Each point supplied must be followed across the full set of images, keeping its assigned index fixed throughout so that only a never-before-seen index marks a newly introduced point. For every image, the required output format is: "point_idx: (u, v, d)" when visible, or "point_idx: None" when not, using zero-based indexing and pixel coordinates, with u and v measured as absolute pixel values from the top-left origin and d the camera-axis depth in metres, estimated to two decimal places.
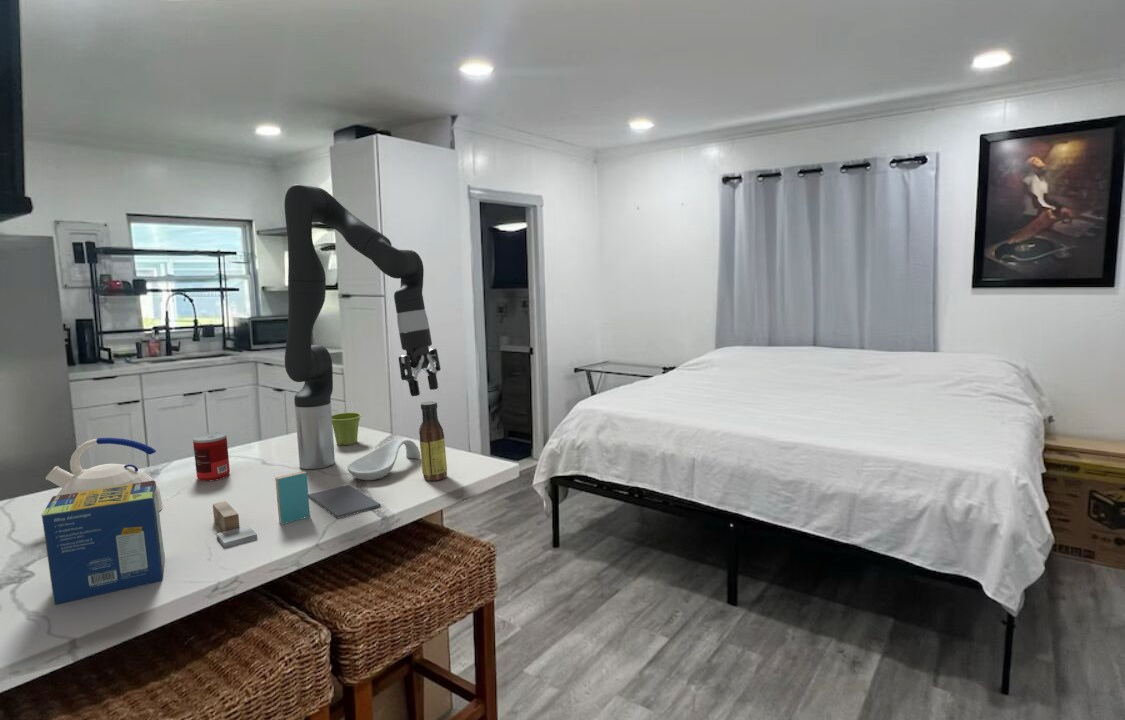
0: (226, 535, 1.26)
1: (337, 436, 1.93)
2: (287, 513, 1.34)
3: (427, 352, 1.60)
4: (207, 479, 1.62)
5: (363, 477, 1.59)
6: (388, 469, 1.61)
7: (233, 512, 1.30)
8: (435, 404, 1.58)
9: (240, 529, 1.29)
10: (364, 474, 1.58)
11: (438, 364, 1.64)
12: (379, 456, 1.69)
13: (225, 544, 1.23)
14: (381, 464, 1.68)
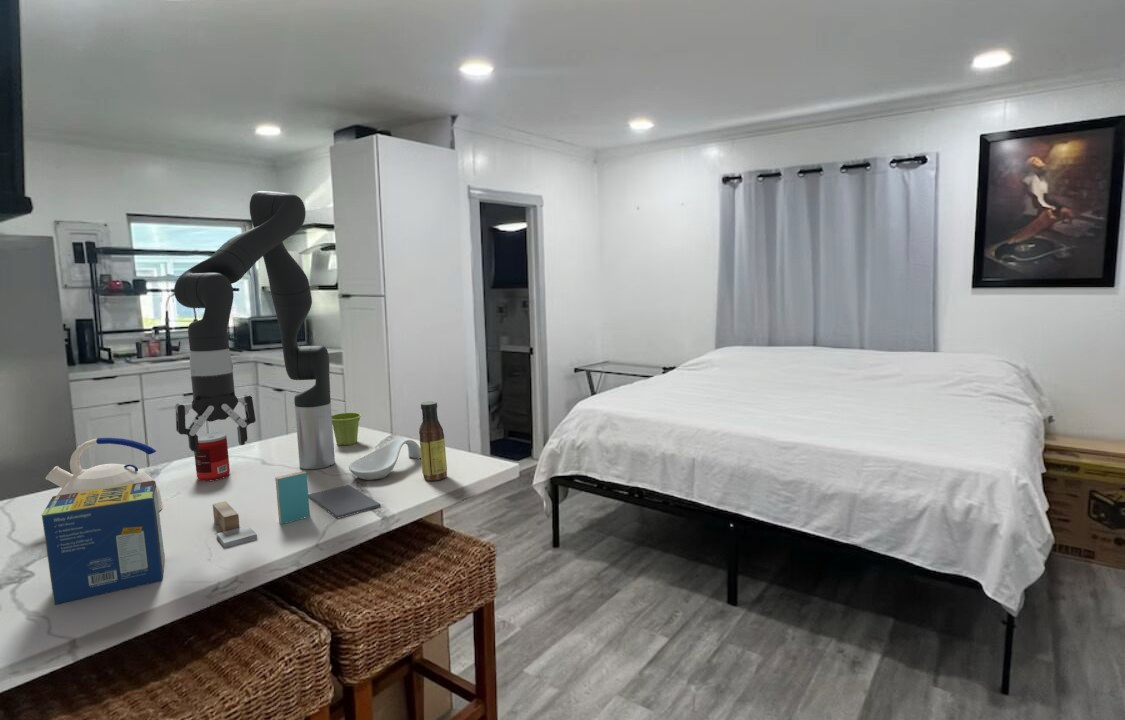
0: (226, 535, 1.26)
1: (337, 436, 1.93)
2: (287, 513, 1.34)
3: (229, 400, 1.30)
4: (207, 479, 1.62)
5: (364, 476, 1.59)
6: (389, 469, 1.61)
7: (233, 512, 1.30)
8: (435, 404, 1.58)
9: (240, 529, 1.29)
10: (365, 474, 1.58)
11: (251, 415, 1.33)
12: (381, 456, 1.70)
13: (225, 544, 1.23)
14: (383, 463, 1.68)
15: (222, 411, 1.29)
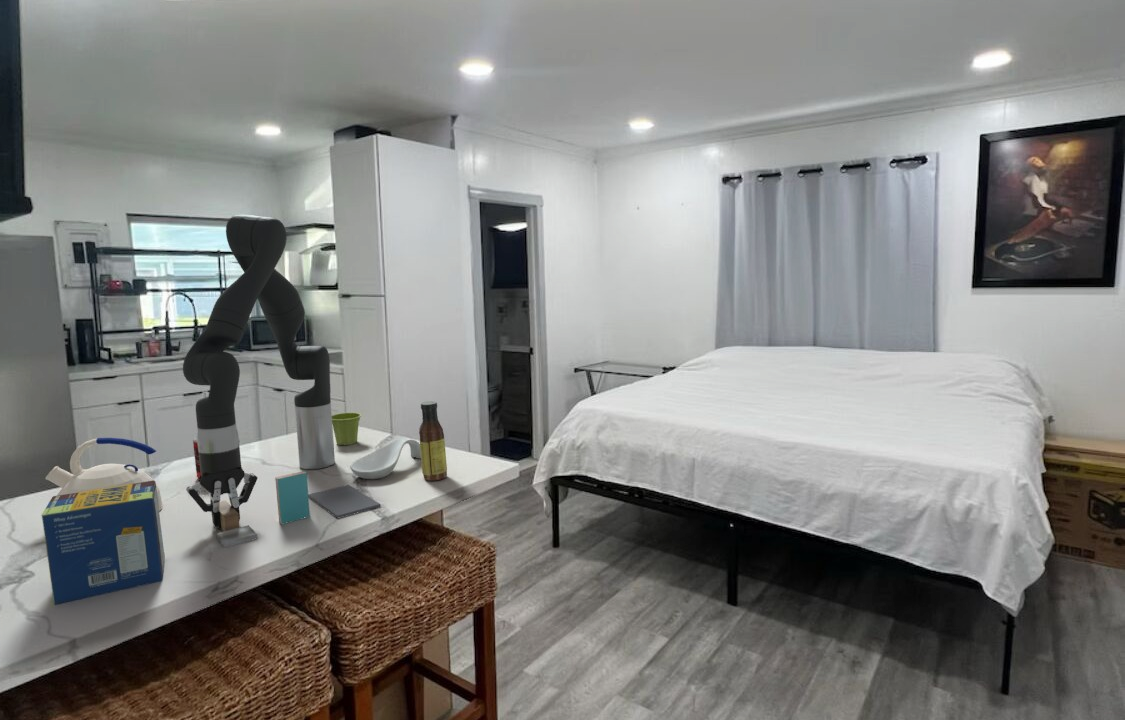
0: (226, 535, 1.26)
1: (337, 436, 1.93)
2: (287, 513, 1.34)
3: (237, 473, 1.32)
4: None
5: (365, 476, 1.60)
6: (390, 468, 1.62)
7: (233, 512, 1.30)
8: (435, 404, 1.58)
9: (240, 529, 1.29)
10: (366, 473, 1.59)
11: (247, 495, 1.34)
12: (382, 455, 1.70)
13: (225, 544, 1.23)
14: (384, 463, 1.69)
15: (226, 484, 1.31)
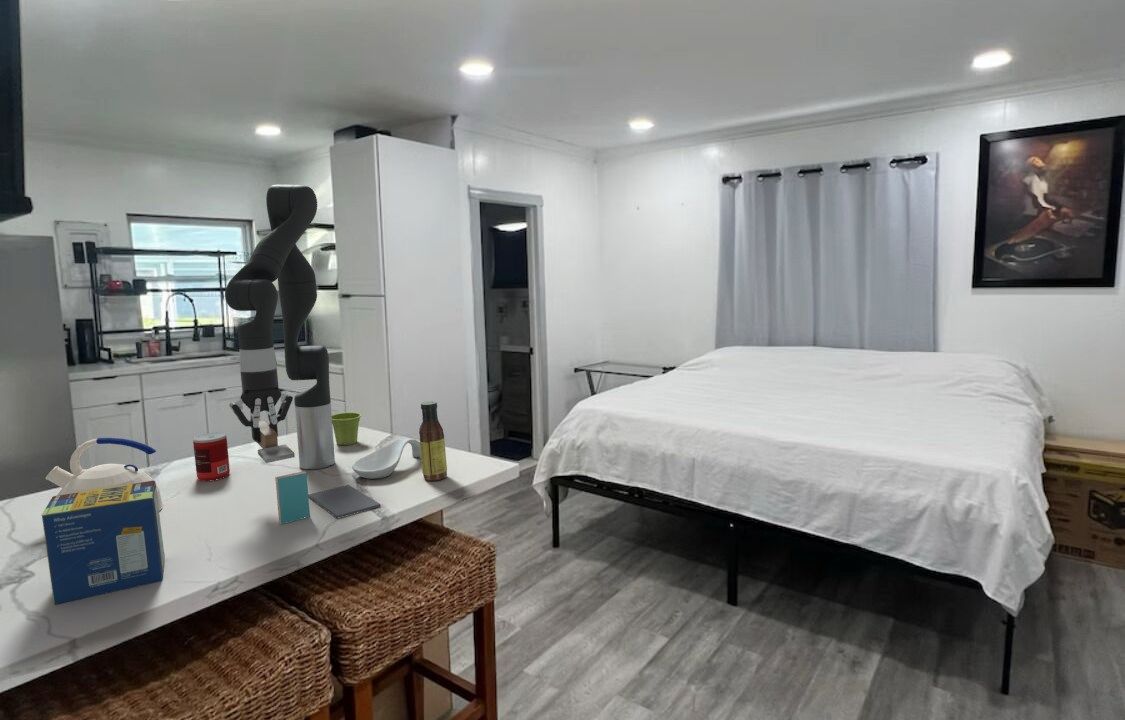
0: (267, 452, 1.39)
1: (337, 436, 1.93)
2: (287, 513, 1.34)
3: (274, 392, 1.45)
4: (207, 479, 1.62)
5: (367, 475, 1.60)
6: (391, 468, 1.62)
7: (272, 432, 1.43)
8: (435, 404, 1.58)
9: (278, 447, 1.42)
10: (367, 473, 1.59)
11: (284, 413, 1.47)
12: (384, 455, 1.70)
13: (267, 460, 1.36)
14: (386, 463, 1.69)
15: (265, 402, 1.44)
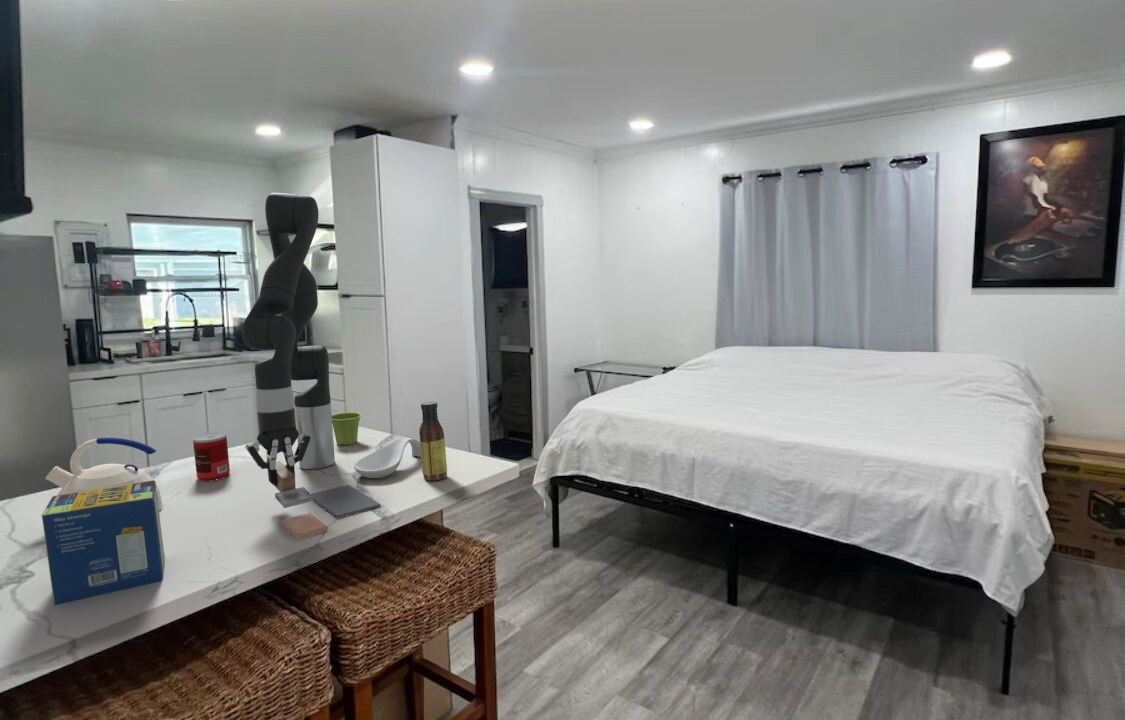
0: (284, 495, 1.34)
1: (337, 436, 1.93)
2: None
3: (292, 432, 1.40)
4: (207, 479, 1.62)
5: (369, 475, 1.60)
6: (394, 467, 1.62)
7: (290, 474, 1.38)
8: (435, 404, 1.58)
9: (296, 490, 1.37)
10: (370, 472, 1.59)
11: (301, 454, 1.41)
12: (385, 454, 1.71)
13: (285, 505, 1.31)
14: (387, 462, 1.69)
15: (282, 443, 1.38)
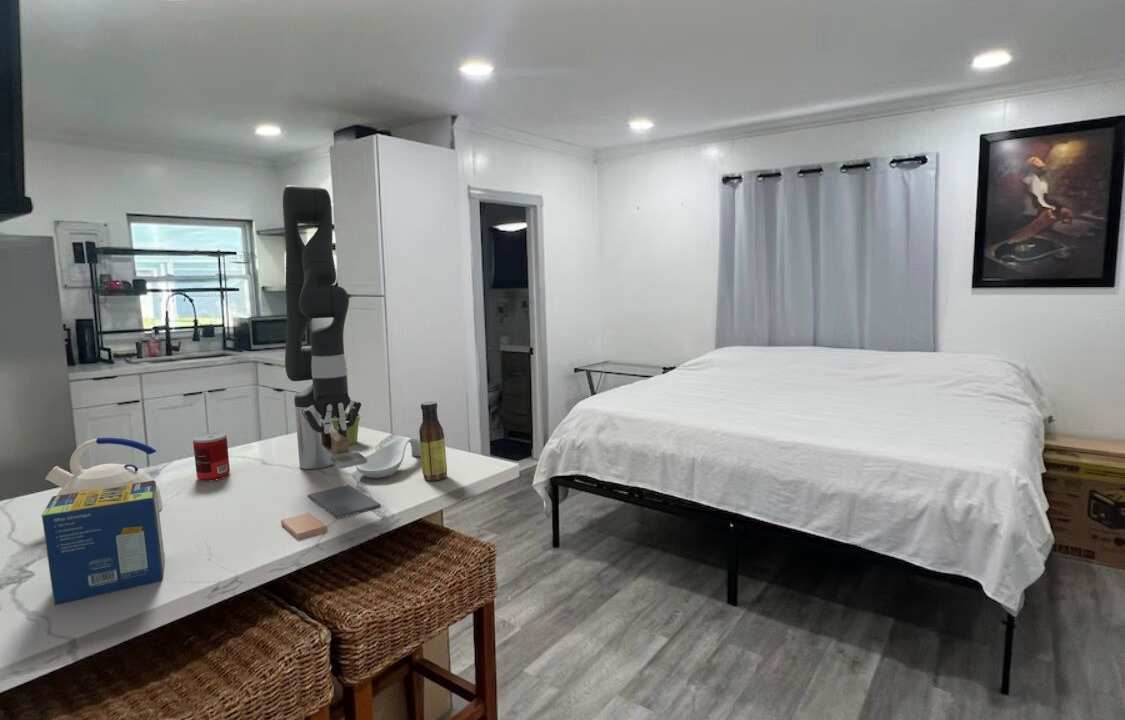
0: (339, 458, 1.41)
1: None
2: None
3: (344, 398, 1.46)
4: (207, 479, 1.62)
5: (372, 475, 1.60)
6: (396, 467, 1.63)
7: (343, 438, 1.44)
8: (435, 404, 1.58)
9: (350, 453, 1.43)
10: (373, 472, 1.59)
11: (353, 419, 1.48)
12: (386, 454, 1.71)
13: (341, 466, 1.37)
14: (388, 462, 1.70)
15: (336, 408, 1.45)
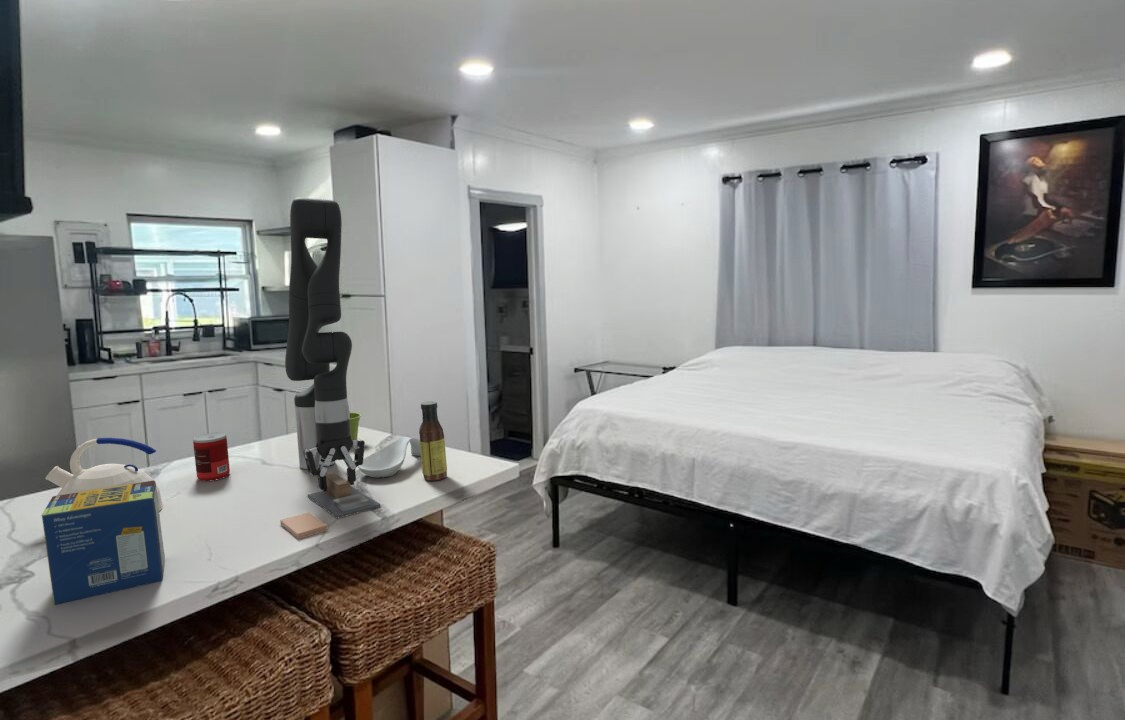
0: (342, 501, 1.42)
1: None
2: None
3: (347, 442, 1.48)
4: (207, 479, 1.62)
5: (374, 474, 1.61)
6: (399, 466, 1.63)
7: (345, 482, 1.46)
8: (435, 404, 1.58)
9: (352, 496, 1.45)
10: (376, 471, 1.60)
11: (360, 458, 1.50)
12: (387, 454, 1.71)
13: (344, 508, 1.39)
14: (390, 461, 1.70)
15: (340, 452, 1.47)
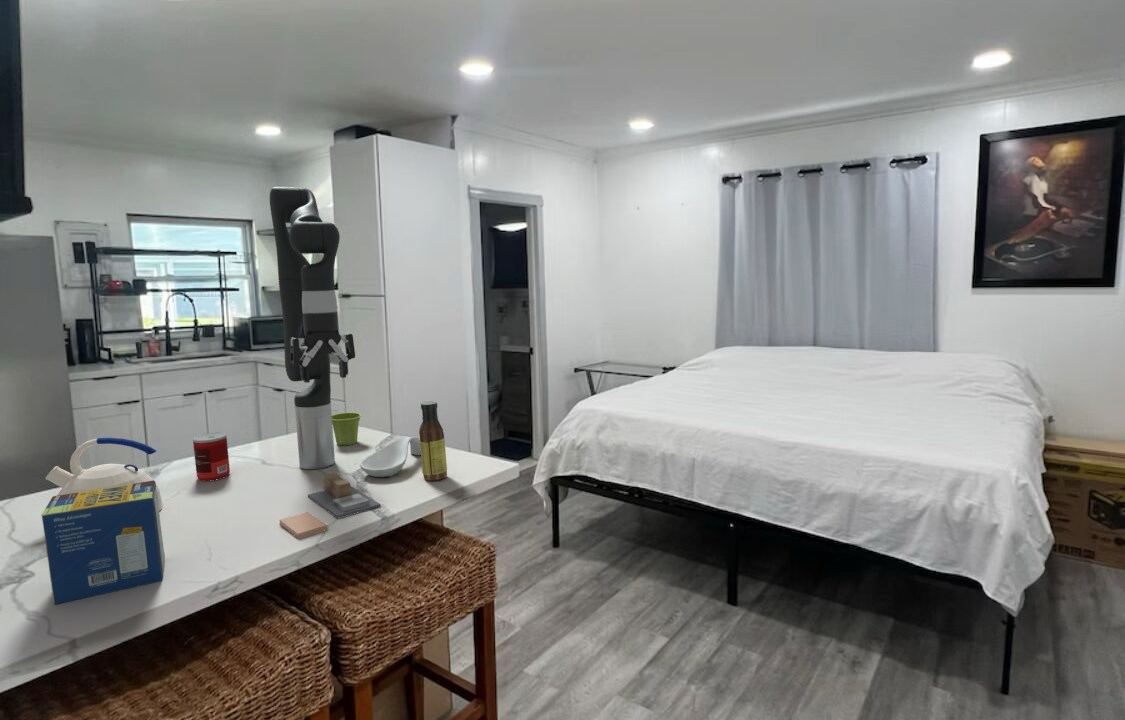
0: (342, 501, 1.42)
1: (337, 436, 1.93)
2: None
3: (334, 337, 1.46)
4: (207, 479, 1.62)
5: (378, 474, 1.61)
6: (402, 465, 1.64)
7: (345, 482, 1.46)
8: (435, 404, 1.58)
9: (352, 496, 1.45)
10: (379, 471, 1.60)
11: (352, 351, 1.49)
12: (388, 453, 1.72)
13: (344, 508, 1.39)
14: (391, 461, 1.70)
15: (328, 346, 1.46)
